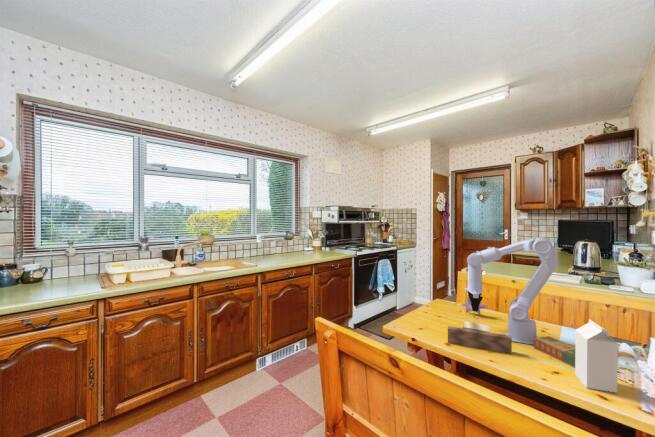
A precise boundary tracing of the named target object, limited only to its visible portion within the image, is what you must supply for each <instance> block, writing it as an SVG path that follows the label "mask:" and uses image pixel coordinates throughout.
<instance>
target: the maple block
mask: <svg viewBox="0 0 655 437" xmlns="http://www.w3.org/2000/svg"><path fill="white" fill-rule="evenodd" d="M462 328H463V329H470V330H476V331H483V332H489V333H491V330H490V329H491V327H490V325H488V324H484V323H477V322H471V321H465V320H464V321H463V324H462Z"/></svg>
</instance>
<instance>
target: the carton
mask: <svg viewBox="0 0 655 437" xmlns="http://www.w3.org/2000/svg"><path fill="white" fill-rule="evenodd" d="M533 348H534V349H535V350H537V351H539V352H541V353H543V354H546V355H548V357H549V356H550V357H551V358H553V359H556V360H558V361H560V362H562V363H564V364H566V365H568V366H570V367H572V368H574V369H575V346H573V345H571V344H568V343H566V342H564V341H561V340H559V339H556V338H554V337H551V335H550V336H542V337H537V338H535V339H534V345H533Z"/></svg>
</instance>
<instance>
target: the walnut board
mask: <svg viewBox="0 0 655 437" xmlns="http://www.w3.org/2000/svg"><path fill="white" fill-rule="evenodd" d="M512 342H513V341H512V338H511V336H509V335H506V334H502V333H496V332H495V333H494V332H490V333H489V332H483V331H476V330H470V329H463V327H457V326H456V327H454V326H448V325H447V344H451V345H457V346H464V347H470V348H473V349H474V348H475V349H479V350H480V349H481V350H485V351H486V350H487V351H491V352H497V353H503V354H508V355H512V353H513V352H512V350H513V349H512V348H513V347H512V346H513V344H512Z"/></svg>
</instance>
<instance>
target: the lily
mask: <svg viewBox="0 0 655 437" xmlns="http://www.w3.org/2000/svg"><path fill="white" fill-rule="evenodd" d="M465 299H466V303H462V304H460V306H462V307H464V308H465V309H464V310H465V312H466V313H469V312H473V317H474V319H476V314H475V313H477V314H478V315H481V310H483V309H484V310H485V309H489V308H490V307H489V306H488V305H486V304H482V302H483V300H481V302H480V305H479V310H478V312H477V311H473V310H472V306H471V301H470V299H469V297H466V298H465Z"/></svg>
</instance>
